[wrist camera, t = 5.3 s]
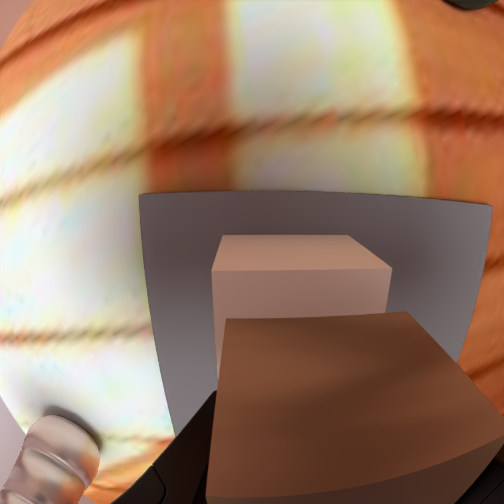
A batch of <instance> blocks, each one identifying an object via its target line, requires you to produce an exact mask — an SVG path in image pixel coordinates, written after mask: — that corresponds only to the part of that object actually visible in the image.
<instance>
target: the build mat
mask: <svg viewBox="0 0 504 504" xmlns="http://www.w3.org/2000/svg"><path fill="white" fill-rule="evenodd" d="M139 209H140V224H141V237H142V249H143V259H144V268H145V277H146V285H147V293H148V301H149V308H150V315H151V321H152V328H153V334H154V340H155V345H156V351H157V356H158V362H159V367H160V372H161V377H162V382H163V386H164V391H165V395H166V400H167V404H168V408H169V413H170V417H171V421H172V425H173V429H174V433H175V436H177V435H178V434H179V432H180V431H181V430H182V429H183V428H184V426H185V425H186V424H187V423H188V422H189V420H190V419H191V418H192V417H193V416H194V414H195V413H196V412H197V411H198V409H199V408H200V407H201V406H202V405H203V403H204V402H205V401H206V400H207V398H208V397H209V396H210V395H211V393H212V392H213V391H215V390H217V387H218V372H217V359H216V345H215V330H214V313H213V295H212V275H211V270H212V267H213V264H214V261H215V258H216V254H217V251H218V248H219V245H220V242H221V239H222V236H223V235H349V236H350V237H351V238H353V239H354V240H355V241H357V242H358V243H360V244H361V245H362V246H364V247H365V248H366V249H368V250H369V251H370V252H372V253H373V254H374V255H376V256H377V257H378V258H380V259H381V260H382V261H384V262H385V263H386V264H388V265H389V266H390V267H391V268H392V273H391V280H390V287H389V293H388V299H387V304H386V310H385V313H389V312H401V311H407V312H408V313H409V314H410V315H411V316H412V317H413V318H414V319H415V320H416V321H417V322H418V323H419V324H420V325H421V326H422V327H423V328H424V329H425V330H426V331H427V332H428V333H429V334H430V335H431V337H432V338H433V339H434V340H435V341H436V342H437V343H438V344H439V345H440V346H441V347H442V348H443V349H444V350H445V351H446V352H447V353H448V355H449V356H450V357H451V358H452V359H453V360H454V361H455V362H456V363H457V361H458V358H459V356H460V353H461V350H462V347H463V344H464V341H465V338H466V335H467V332H468V329H469V325H470V322H471V319H472V315H473V311H474V308H475V304H476V300H477V296H478V292H479V288H480V284H481V279H482V274H483V269H484V264H485V259H486V253H487V248H488V241H489V234H490V227H491V219H492V209H493V206H491V205H487V204H479V203H471V202H462V201H453V200H443V199H432V198H421V197H408V196H394V195H379V194H362V193H340V192H311V191H200V192H170V193H148V194H140V195H139Z"/></svg>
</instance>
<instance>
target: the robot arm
mask: <svg viewBox="0 0 504 504" xmlns="http://www.w3.org/2000/svg"><path fill="white" fill-rule="evenodd" d="M216 395H217V390H215V391H213V392H212V393H211V395H210V396H209V397H208V398H207V400H206V401H205V402H204V403H203V405H202V406H201V407H200V408H199V409H198V411H197V412H196V413H195V414H194V416H193V417H192V418H191V419H190V420H189V422H188V423H187V424H186V425H185V426H184V428H183V429H182V430H181V431H180V432H179V434H178V435H177V436H176V437H175V438H174V439H173V441H172V442H171V443H170V444H169V445H168V446H167V448H166V449H165V450H164V451H163V452H162V453H161V455H160V456H159V457H158V458H157V459H156V460H155V461H154V463H153V464H152V465H153V466H150V467H149V468H148V469H147V470H146V471H145V473H144V474H143V475H142V476H141V477H140V478H139V479H138V480H137V481H136V482H135V483H134V484H133V485H132V486H131V487H130V488H129V489H127V490H126V491H125V492H124V493H123V494H122V495H120V496H119V497H118V498H117V499H116V500H114V501H113V502H112V503H111V504H208V503H207V500H206V487H207V477H208V467H209V458H210V448H211V439H212V430H213V421H214V412H215V404H216ZM454 504H504V444H503V446H502V447H501V448H500V450H499V451H498V452H497V454H496V455H495V456H494V458H493V459H492V460H491V462H490V463H489V464H488V466H487V467H486V468H485V469H484V471H483V472H482V473H481V474H480V475H479V477H478V478H477V479H476V480H475V481H474V483H473V484H472V485H471V486H470V487H469V488H468V489H467V490H466V492H465V493H464V494H463V495H462V496H461V497H460V498H459V499H458V500H457V501H456V502H455V503H454Z"/></svg>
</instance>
